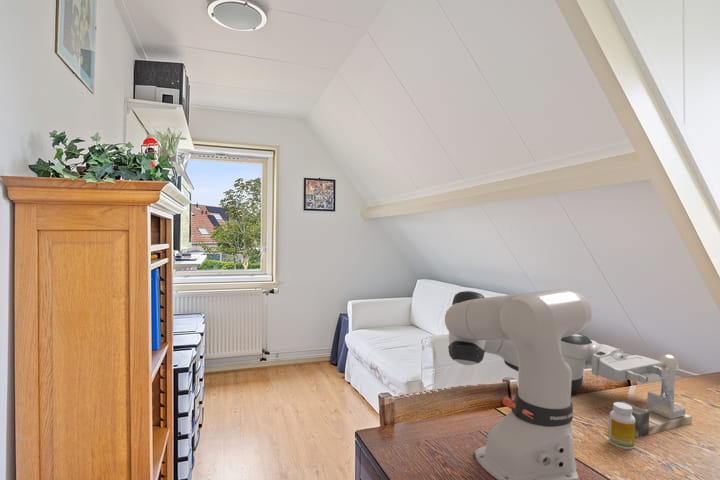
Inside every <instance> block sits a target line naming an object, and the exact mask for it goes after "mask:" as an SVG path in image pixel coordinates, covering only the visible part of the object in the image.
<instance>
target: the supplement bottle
mask: <svg viewBox="0 0 720 480" xmlns="http://www.w3.org/2000/svg"><path fill="white" fill-rule="evenodd" d="M613 403H614V404H613ZM613 403H612V410H611V411H610V412H609V421H608V442H609V443H610V444H612V445H613V446H615V447H617V448H619V449H623V450H632V449H634V448H635V442H636V441H635V440H636V439H635V437H636V436H635V418H634V416H633V415H631V414H632V407H631V406H630V405H628V404H625V403H621V402H620V401H616V402H613ZM613 410H614V411H613Z"/></svg>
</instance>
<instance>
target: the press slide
mask: <svg viewBox="0 0 720 480" xmlns="http://www.w3.org/2000/svg"><path fill="white" fill-rule="evenodd" d="M658 361H659V363H660V365H661V369H662V377H660V378H661V381H660V383H661V384H660V394H658V393H655V392H652V391H648V392H647V397H646V398H647V399H646V400H647V402H646V410H649V411H651V412H654V413H656V414H658V415H661V416H663V417H666V418H668V419H673V418H677V417H681V416H685V414H686V412H687V411H686V408H684V407H682V406H678V405H676V404H675V387H676V370H677V369H678V368H679V366H680V362H679V359H678V358H677V357H676V356H675V355H672V354H669V353H665V354H663V355H661V356H660V357H659V360H658Z"/></svg>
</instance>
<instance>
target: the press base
mask: <svg viewBox="0 0 720 480" xmlns="http://www.w3.org/2000/svg"><path fill="white" fill-rule="evenodd" d="M619 402H621V403H625V404H628V405H630V406H631V407H632V414H631V415H633V416H634V418H635V437H636V438H642V437H645V436H649V435H653V434H657V433H662V432H664V431H667V430H671V429H676V428H679V427H682V426H686V425H690V424H692V422H693V421H692V417H693V416H692V415H690V414H687V413H685V416H681V417H677V418H673V419H668V418H666V417H663V416H661V415H658V414H656V413H654V412H651V411H649V410H647V409H644V408H643V409H642V408H640V407H639V406H635V405H633V404H631V403H629V402H627V401H624V400H622V401H619ZM614 403H615V402H613V403H612V405H613V404H614ZM612 411H614V410H613V409H612Z"/></svg>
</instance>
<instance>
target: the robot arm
mask: <svg viewBox="0 0 720 480" xmlns="http://www.w3.org/2000/svg"><path fill="white" fill-rule="evenodd" d="M592 313H593V310H592V307H591V304H590V303H589V301H588V299H587V298H586V297H584V295H582V294H581V293H579V292H576V291H573V290H567V289H562V288H561V289H560V288H559V289H558V288H557V289H549V290H542V291H532V292H523V293H516V294H507V295H499V296H490V297H489V296H488V297H485V296H484V295H483V294H481V293H479V292H476V291H475V290H465V291H459V292H458V293H456V294H455V295H454V297H453V299H452V303H451V305H450V307H449V308H448V309H447V311H446V312H445V315H444V324H445V328H446V329H447V332H448V342H449V343H448V344H449V345H448V354H449V357H450V358H451V359H452V361H455V362H457V363H459V364H460V365H464V366H472V365H476V364H480V363H481V362H482V361H483V360H484V356H485V353H487V354H491V355H496V356H498V357H500V358H502V360H503V362H504V364H505V365H506V366H507V367H509V369H512V370H514V371H515V372H518V375H517V376H518V381H517V382H518V387H517V389H518V390H517V392H516V394H515V397H514V399H511V398H510V397H508V396H505V397H504V398H503V399H502V404H503V405H504V406H505V407H508V409H510V411H509V412H508V414H506V415H505V416H504V417H503V418H502V419H501V420H500V421H499V422H498V423H496V424H495V425H494V426H493V427H492V428H491V429H490V430H489V431H488V434H487V437H486V444H485V445H484V446H481V447H479V448H477V449H475V455H474V456H475V459H476V461H477V462H478V463H479V465H480V466H481V467H482V468H483V469H484V470H485V471H486V472H487V473H489V474H490V476H492V477H494V478H495V479H496V480H580V477H579V474H578V472H577V468H578V465H577V462H576V457H575V456H576V453H575V442H574V436H573V433H572V426H571V423H572V422H573V419H574V418H573V415H574V410H573V409H574V404H573V402H572V393H573V392H575V391H577V390H578V389H581V388H582V387H583V382H584V380H583V379H584V371H585V367H591V374H592V375H593V376H597V377H599V376H600V377H602V378H604V379H607V380H610V381H614V382H622V381H623V382H624V381H628V380H629V381H634V382H640V383H642V384H646V383H648V382H649V376H650V375H651V376H652V375H658V376H659V377H660V378H661V377H662V367H661V365H660V363H659V360H657V359H653V358H651V357H647V356H643V355H638V354H633V355H628V356H627V355H625V353H624V351H623V350H622V349H621V348H617V347H614V346H612V345H608V344H604V343H598V342H597V341H596V340H593V339H590V338H589V337H588V336H585V335H583V334H579V332H581V331H582V330H584V329H585V328H586V327H587V326H588V325H589V324H590V322H591V321H592V316H593V314H592Z"/></svg>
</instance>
